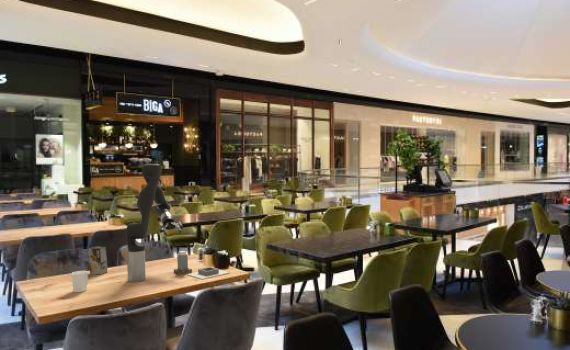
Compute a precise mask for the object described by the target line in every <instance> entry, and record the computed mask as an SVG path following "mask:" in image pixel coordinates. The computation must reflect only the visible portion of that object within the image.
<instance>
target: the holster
mask: <svg viewBox="0 0 570 350" xmlns="http://www.w3.org/2000/svg"><path fill="white" fill-rule="evenodd" d="M173 273H174V274H177V275H187V274H191V273H193V269H192V268H190V267H188V270H183V271H180V270H178V268H174V269H173Z"/></svg>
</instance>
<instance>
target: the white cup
mask: <svg viewBox="0 0 570 350" xmlns="http://www.w3.org/2000/svg"><path fill="white" fill-rule="evenodd" d="M71 283H72V292H73V293H81V292H82V293H83V292H86V291H87V290H88V270H76V271H72V272H71Z"/></svg>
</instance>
